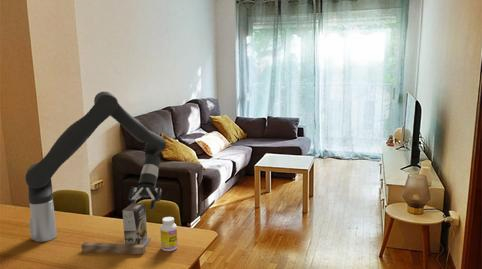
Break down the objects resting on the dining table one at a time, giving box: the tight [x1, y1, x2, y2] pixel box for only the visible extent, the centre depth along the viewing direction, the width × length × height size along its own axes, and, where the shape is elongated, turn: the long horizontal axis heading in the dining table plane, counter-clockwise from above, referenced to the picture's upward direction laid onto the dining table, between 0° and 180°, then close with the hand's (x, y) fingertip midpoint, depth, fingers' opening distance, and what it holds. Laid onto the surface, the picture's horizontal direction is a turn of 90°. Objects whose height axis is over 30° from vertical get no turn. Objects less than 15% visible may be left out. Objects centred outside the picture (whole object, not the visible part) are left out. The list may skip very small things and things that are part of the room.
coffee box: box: [122, 202, 148, 245], centre depth 166 cm, size 9×6×16 cm
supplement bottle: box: [159, 216, 178, 252], centre depth 163 cm, size 7×7×13 cm
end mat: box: [142, 237, 152, 248], centre depth 168 cm, size 9×10×1 cm
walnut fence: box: [81, 241, 146, 255], centre depth 161 cm, size 26×2×3 cm, turn 84°
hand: (141, 209), depth 173 cm, fingers open, 8 cm apart
